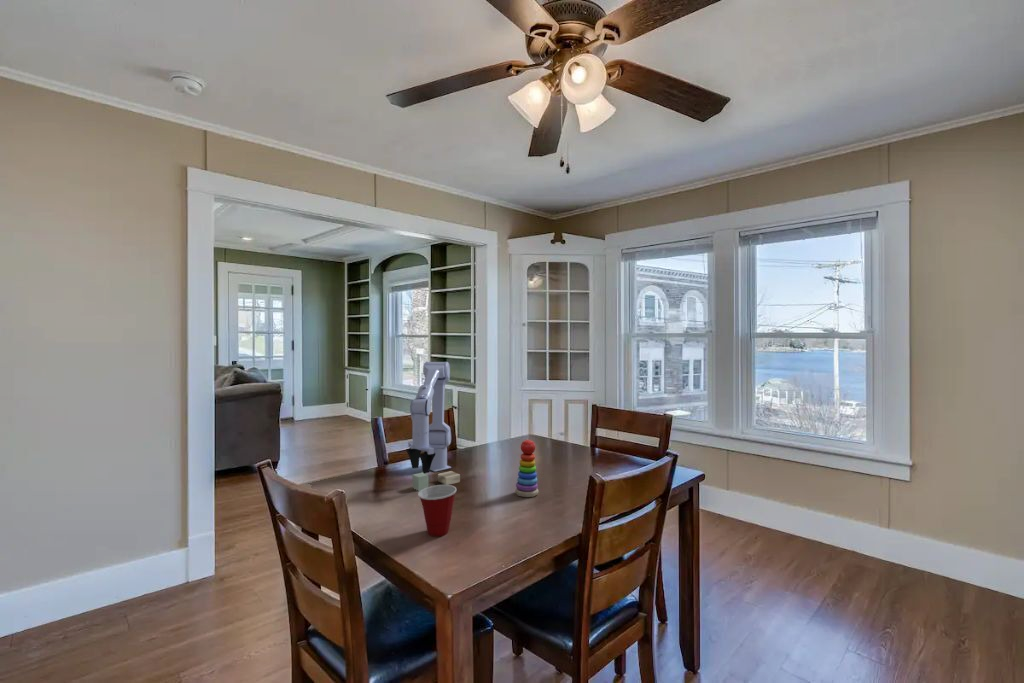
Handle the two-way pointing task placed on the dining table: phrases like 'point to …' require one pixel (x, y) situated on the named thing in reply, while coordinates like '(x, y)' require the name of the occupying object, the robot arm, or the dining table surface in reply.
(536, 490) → the stacking toy
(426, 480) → the sage block
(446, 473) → the maple base
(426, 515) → the plastic cup
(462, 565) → the dining table surface
